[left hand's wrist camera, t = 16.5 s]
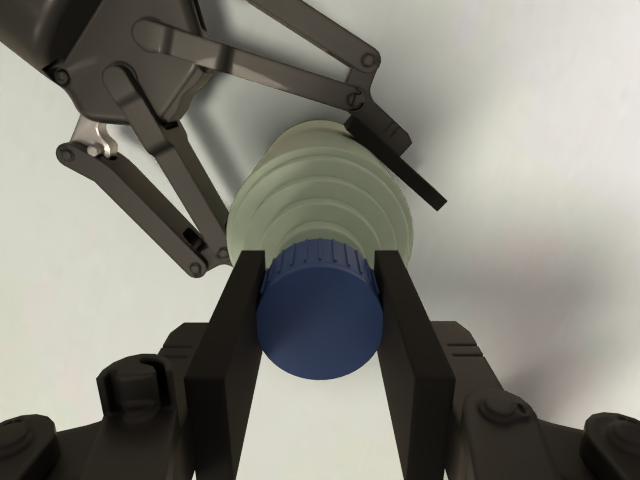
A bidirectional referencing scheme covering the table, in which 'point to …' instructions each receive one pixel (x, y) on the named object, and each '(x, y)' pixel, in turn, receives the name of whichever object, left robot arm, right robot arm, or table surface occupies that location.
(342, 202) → the bottle
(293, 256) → the cap
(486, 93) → the table surface
